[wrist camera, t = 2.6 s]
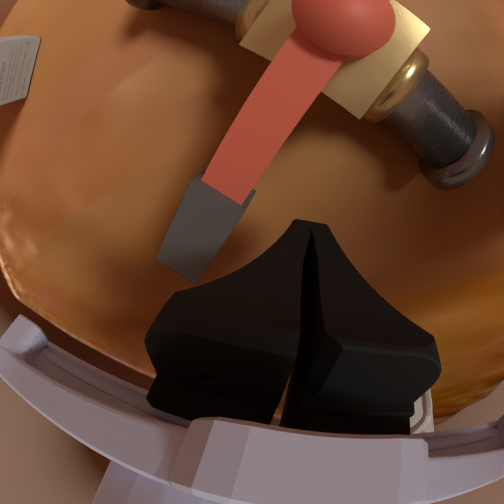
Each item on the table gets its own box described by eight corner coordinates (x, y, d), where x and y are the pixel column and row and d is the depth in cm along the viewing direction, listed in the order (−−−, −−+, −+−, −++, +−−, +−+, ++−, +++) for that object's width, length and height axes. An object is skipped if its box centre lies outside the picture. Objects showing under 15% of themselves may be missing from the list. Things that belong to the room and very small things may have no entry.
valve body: (409, 57, 9) (450, 47, 5) (359, 120, 12) (380, 137, 8) (296, -16, 8) (285, -56, 4) (248, 49, 11) (215, 34, 7)
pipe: (463, 115, 10) (509, 132, 6) (418, 170, 13) (451, 205, 9) (197, -45, 8) (157, -74, 4) (158, 13, 10) (107, 1, 7)
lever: (323, -21, 5) (323, -43, 3) (394, 24, 5) (412, 11, 4) (169, 229, 12) (147, 253, 11) (219, 261, 13) (204, 290, 11)
